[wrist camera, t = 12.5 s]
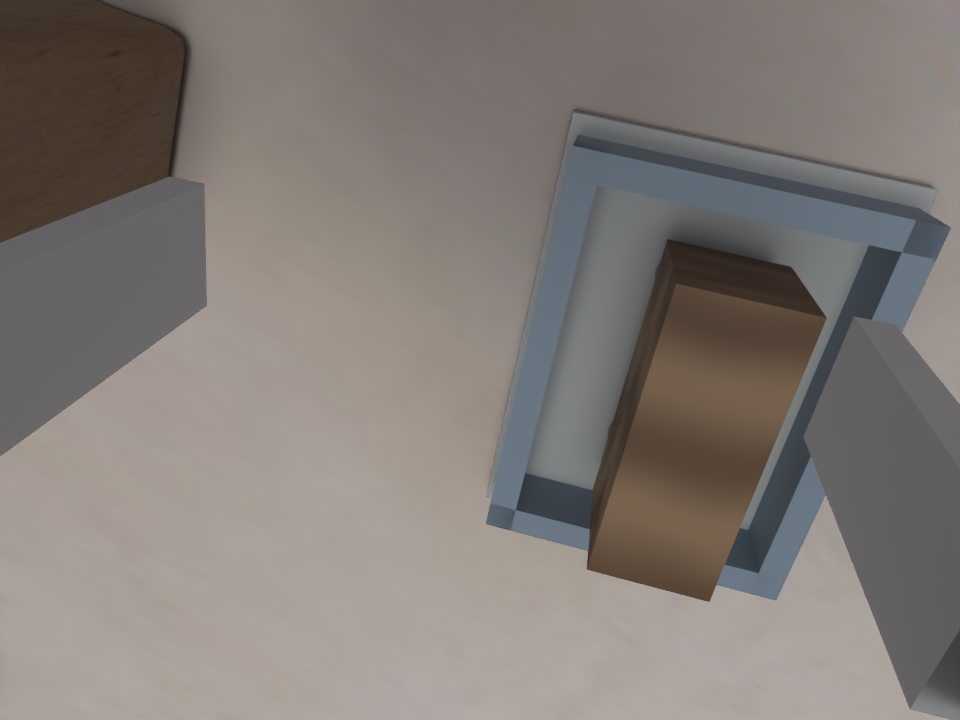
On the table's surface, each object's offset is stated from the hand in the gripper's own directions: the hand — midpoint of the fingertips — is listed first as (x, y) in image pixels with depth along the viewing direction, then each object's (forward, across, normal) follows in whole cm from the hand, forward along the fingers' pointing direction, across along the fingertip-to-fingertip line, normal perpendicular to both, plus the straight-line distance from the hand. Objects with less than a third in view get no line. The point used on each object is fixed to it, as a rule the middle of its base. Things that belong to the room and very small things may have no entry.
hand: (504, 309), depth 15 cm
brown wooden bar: (+22, +8, -12) cm, 26 cm away
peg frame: (+26, +8, -12) cm, 30 cm away
